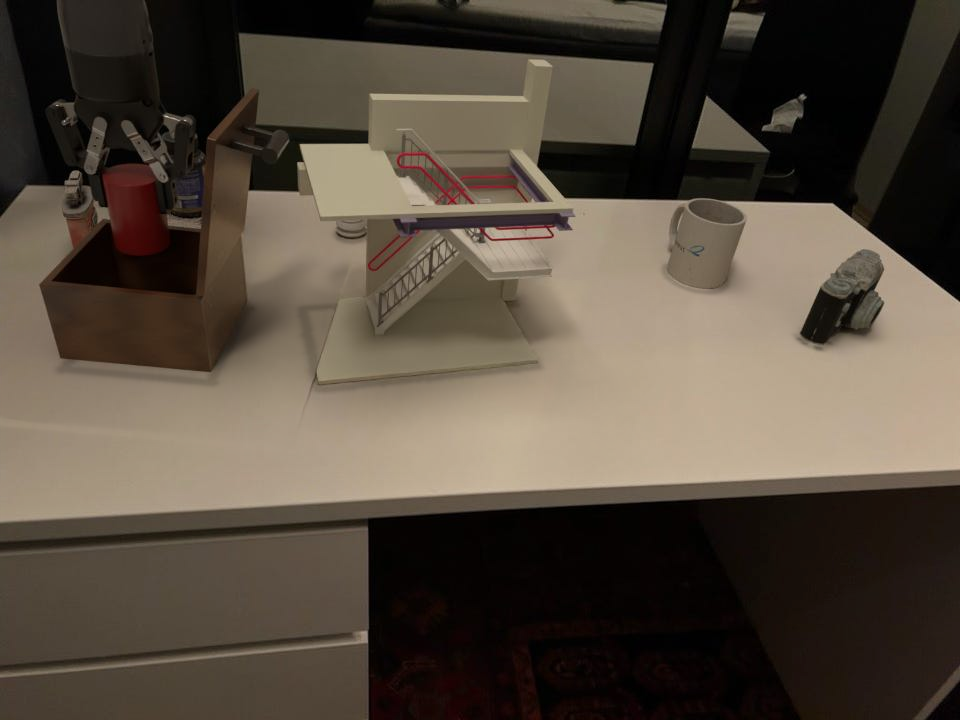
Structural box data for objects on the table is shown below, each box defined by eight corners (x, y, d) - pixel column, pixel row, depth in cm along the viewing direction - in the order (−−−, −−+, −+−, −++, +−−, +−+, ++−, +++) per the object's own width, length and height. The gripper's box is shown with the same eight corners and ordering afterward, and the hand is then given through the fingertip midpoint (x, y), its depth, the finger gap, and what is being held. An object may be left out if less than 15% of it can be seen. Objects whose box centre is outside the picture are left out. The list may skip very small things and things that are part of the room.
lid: (206, 137, 63) (267, 154, 64) (251, 87, 75) (302, 101, 76) (195, 295, 72) (249, 307, 73) (237, 228, 84) (282, 239, 85)
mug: (735, 288, 107) (757, 225, 101) (680, 288, 105) (700, 225, 99) (699, 247, 117) (718, 188, 111) (649, 247, 115) (665, 187, 109)
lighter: (100, 266, 94) (84, 193, 88) (70, 268, 93) (52, 194, 87) (106, 237, 100) (91, 166, 94) (79, 238, 99) (61, 166, 93)
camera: (844, 358, 95) (877, 292, 89) (794, 335, 98) (823, 269, 92) (881, 318, 104) (913, 256, 98) (835, 298, 108) (863, 237, 102)
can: (105, 252, 78) (92, 181, 74) (126, 228, 83) (115, 160, 78) (159, 258, 79) (149, 188, 74) (177, 234, 83) (169, 167, 79)
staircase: (321, 397, 78) (313, 114, 60) (302, 304, 92) (291, 51, 74) (559, 372, 86) (615, 116, 68) (509, 290, 100) (544, 60, 82)
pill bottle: (217, 214, 108) (209, 141, 102) (174, 221, 105) (163, 146, 99) (203, 197, 112) (194, 126, 106) (162, 204, 109) (150, 130, 103)
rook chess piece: (350, 222, 111) (350, 171, 106) (372, 232, 109) (373, 181, 104) (329, 231, 108) (328, 180, 103) (351, 242, 106) (351, 190, 101)
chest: (61, 364, 78) (38, 284, 72) (118, 292, 90) (102, 218, 84) (211, 377, 79) (200, 299, 73) (248, 304, 90) (241, 232, 85)
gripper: (7, 40, 65) (51, 215, 75) (173, 61, 66) (194, 231, 76) (48, 21, 71) (83, 185, 81) (200, 40, 72) (216, 200, 82)
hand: (137, 207), depth 78 cm, fingers closed on can, 5 cm apart
